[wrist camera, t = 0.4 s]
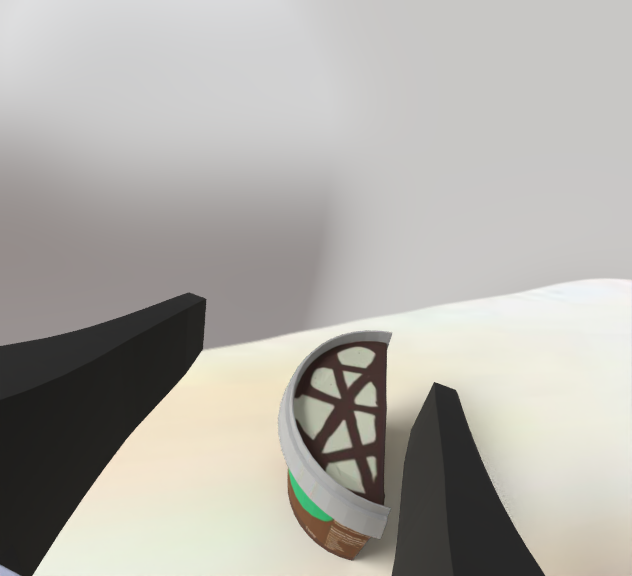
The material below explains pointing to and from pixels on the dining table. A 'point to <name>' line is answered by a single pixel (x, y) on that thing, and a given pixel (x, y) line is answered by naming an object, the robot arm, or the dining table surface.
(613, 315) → the dining table surface
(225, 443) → the dining table surface
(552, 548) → the dining table surface
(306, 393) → the food container
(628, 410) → the dining table surface
